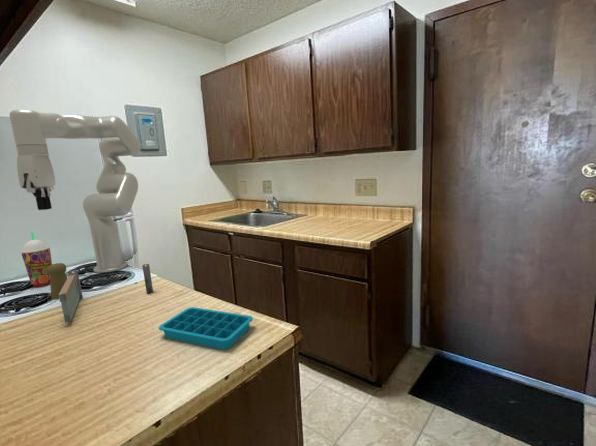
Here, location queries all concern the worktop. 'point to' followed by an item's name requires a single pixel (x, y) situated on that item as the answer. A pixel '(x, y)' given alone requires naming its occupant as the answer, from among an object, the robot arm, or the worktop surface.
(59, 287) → the cork
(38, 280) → the smoothie
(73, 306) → the gate
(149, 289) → the gate posts
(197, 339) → the ice cube tray
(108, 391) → the worktop surface
